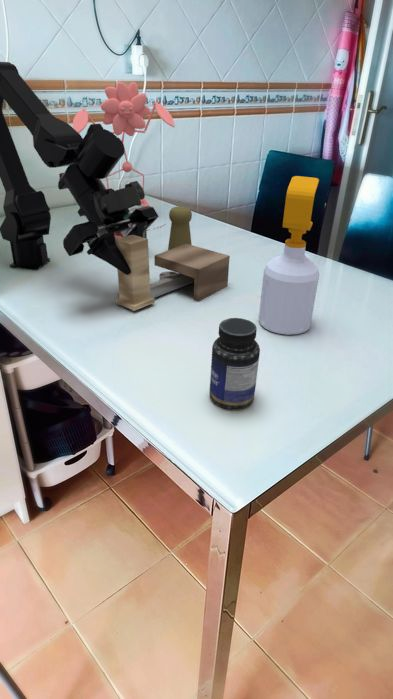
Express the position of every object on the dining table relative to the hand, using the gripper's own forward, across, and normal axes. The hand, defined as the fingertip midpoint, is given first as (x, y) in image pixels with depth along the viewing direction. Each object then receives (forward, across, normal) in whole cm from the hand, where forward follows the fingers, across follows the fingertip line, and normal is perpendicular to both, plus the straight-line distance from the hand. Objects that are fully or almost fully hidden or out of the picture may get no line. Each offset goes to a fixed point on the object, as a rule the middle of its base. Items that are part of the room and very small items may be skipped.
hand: (138, 270), depth 84 cm
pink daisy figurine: (-22, +37, +33) cm, 54 cm away
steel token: (+3, +12, +7) cm, 14 cm away
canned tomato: (-9, +19, +20) cm, 29 cm away
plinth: (+6, +14, +4) cm, 16 cm away
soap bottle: (+22, +12, -12) cm, 28 cm away
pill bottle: (+26, -12, -16) cm, 32 cm away
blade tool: (+4, +6, +5) cm, 9 cm away
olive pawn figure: (-4, +27, +14) cm, 31 cm away
